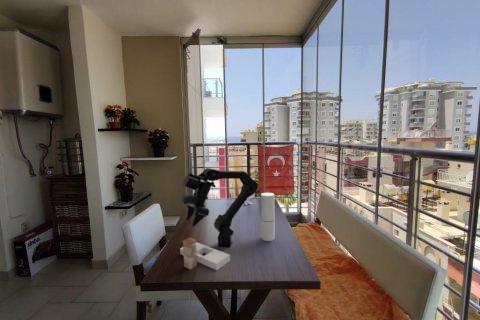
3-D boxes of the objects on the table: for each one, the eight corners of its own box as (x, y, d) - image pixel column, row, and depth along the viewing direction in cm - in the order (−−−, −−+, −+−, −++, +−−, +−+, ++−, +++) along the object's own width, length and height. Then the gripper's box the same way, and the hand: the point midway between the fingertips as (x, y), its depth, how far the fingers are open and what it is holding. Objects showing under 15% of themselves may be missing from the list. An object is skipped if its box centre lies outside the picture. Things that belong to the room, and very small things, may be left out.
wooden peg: (191, 262, 106) (189, 237, 105) (197, 265, 104) (195, 239, 103) (184, 266, 103) (182, 240, 102) (190, 269, 101) (189, 243, 99)
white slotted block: (194, 246, 121) (194, 241, 121) (230, 260, 107) (229, 254, 106) (180, 254, 114) (180, 248, 113) (216, 270, 100) (216, 263, 99)
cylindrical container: (273, 235, 132) (273, 192, 130) (275, 240, 125) (275, 195, 122) (261, 235, 132) (260, 192, 129) (262, 241, 125) (262, 196, 122)
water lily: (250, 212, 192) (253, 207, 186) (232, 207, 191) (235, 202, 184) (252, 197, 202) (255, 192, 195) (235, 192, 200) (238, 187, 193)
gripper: (182, 184, 118) (169, 213, 116) (193, 191, 102) (179, 225, 100) (201, 190, 123) (189, 218, 122) (215, 199, 107) (202, 231, 105)
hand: (189, 223), depth 112 cm, fingers open, 9 cm apart
